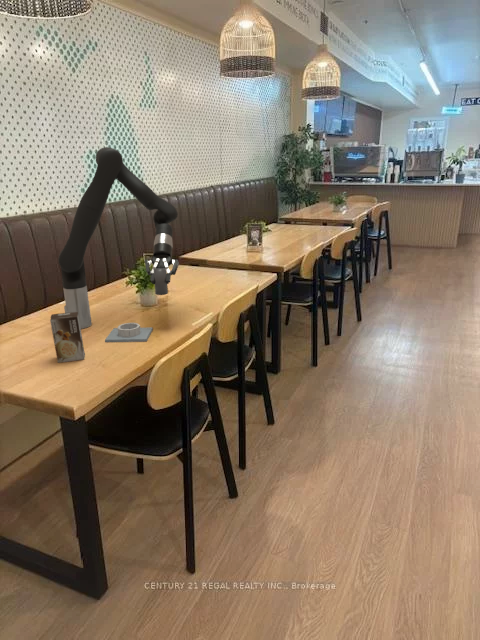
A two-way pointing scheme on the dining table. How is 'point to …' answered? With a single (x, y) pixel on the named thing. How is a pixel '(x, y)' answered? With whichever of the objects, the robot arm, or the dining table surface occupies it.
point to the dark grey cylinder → (160, 281)
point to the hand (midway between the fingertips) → (160, 282)
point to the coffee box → (67, 337)
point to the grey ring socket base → (129, 333)
